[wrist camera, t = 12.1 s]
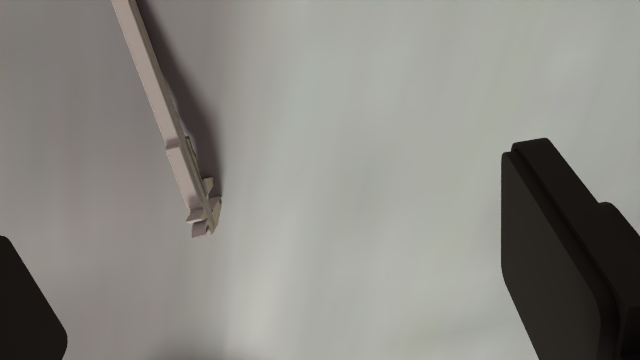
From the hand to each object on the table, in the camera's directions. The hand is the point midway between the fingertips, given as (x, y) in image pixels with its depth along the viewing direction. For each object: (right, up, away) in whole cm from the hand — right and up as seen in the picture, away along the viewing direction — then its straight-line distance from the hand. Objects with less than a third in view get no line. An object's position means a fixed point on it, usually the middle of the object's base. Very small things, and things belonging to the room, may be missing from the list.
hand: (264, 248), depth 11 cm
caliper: (-10, +8, +29) cm, 31 cm away
